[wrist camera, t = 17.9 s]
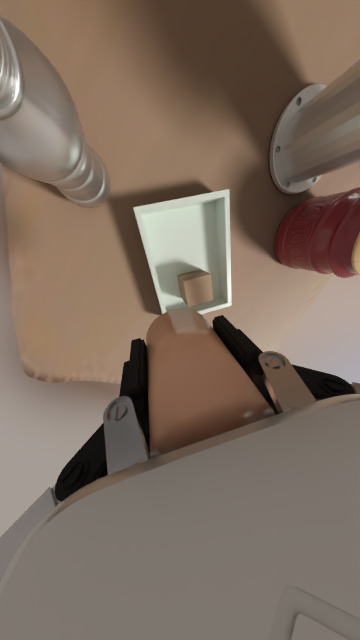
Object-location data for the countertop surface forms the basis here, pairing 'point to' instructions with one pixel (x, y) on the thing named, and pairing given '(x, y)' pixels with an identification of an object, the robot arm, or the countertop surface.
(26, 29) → the countertop surface
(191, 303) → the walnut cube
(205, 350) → the tan rounded-top part
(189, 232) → the box
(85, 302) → the countertop surface
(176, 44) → the countertop surface
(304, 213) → the canister
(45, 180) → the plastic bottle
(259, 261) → the countertop surface
